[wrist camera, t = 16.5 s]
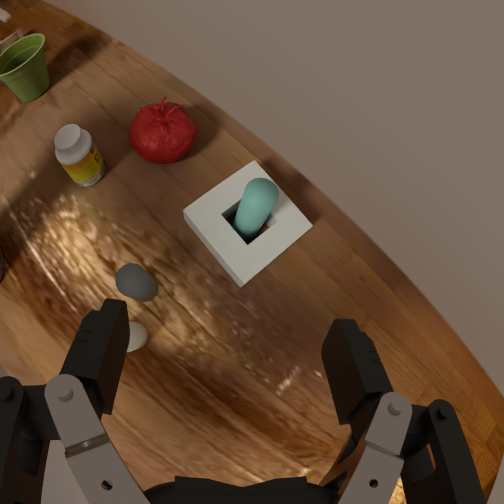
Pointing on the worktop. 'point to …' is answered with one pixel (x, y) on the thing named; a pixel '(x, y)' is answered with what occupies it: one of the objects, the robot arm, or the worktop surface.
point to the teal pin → (255, 207)
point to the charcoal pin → (136, 283)
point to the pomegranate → (162, 132)
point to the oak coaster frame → (10, 43)
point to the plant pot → (25, 67)
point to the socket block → (225, 237)
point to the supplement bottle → (79, 155)
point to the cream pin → (137, 336)
